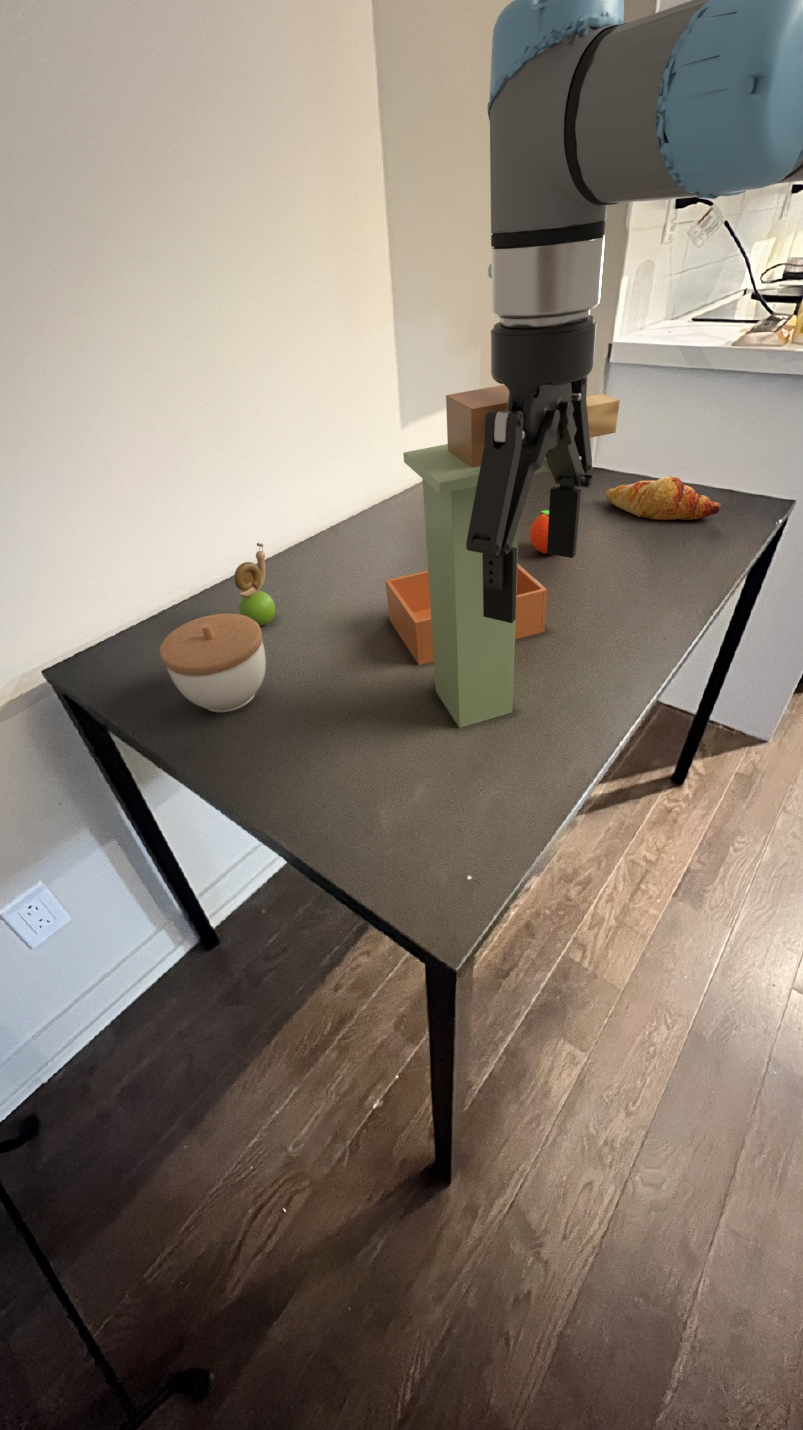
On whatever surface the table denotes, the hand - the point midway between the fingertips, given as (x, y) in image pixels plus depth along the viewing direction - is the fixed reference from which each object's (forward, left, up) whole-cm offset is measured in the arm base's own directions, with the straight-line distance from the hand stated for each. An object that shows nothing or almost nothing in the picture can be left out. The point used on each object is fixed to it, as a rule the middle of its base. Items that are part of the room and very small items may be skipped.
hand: (532, 584), depth 58 cm
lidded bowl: (+38, +11, -21) cm, 45 cm away
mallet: (+5, -10, +9) cm, 15 cm away
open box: (+20, -19, -21) cm, 34 cm away
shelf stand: (+8, -6, -21) cm, 23 cm away
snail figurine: (+48, -5, -21) cm, 53 cm away
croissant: (+9, -71, -21) cm, 75 cm away
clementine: (+20, -47, -21) cm, 55 cm away
